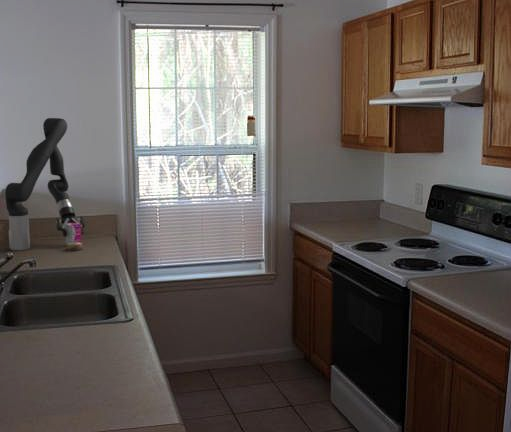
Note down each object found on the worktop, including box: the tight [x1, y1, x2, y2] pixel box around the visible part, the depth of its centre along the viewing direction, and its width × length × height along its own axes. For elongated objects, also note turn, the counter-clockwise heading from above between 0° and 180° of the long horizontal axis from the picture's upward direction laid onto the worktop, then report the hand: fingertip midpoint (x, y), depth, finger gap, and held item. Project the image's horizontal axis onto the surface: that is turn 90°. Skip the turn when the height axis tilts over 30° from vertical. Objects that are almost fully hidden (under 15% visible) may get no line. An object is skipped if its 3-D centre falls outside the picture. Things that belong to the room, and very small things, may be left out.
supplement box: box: [65, 223, 82, 244], centre depth 348 cm, size 6×6×12 cm
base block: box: [65, 241, 83, 252], centre depth 339 cm, size 8×8×3 cm
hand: (74, 235), depth 347 cm, fingers open, 8 cm apart
